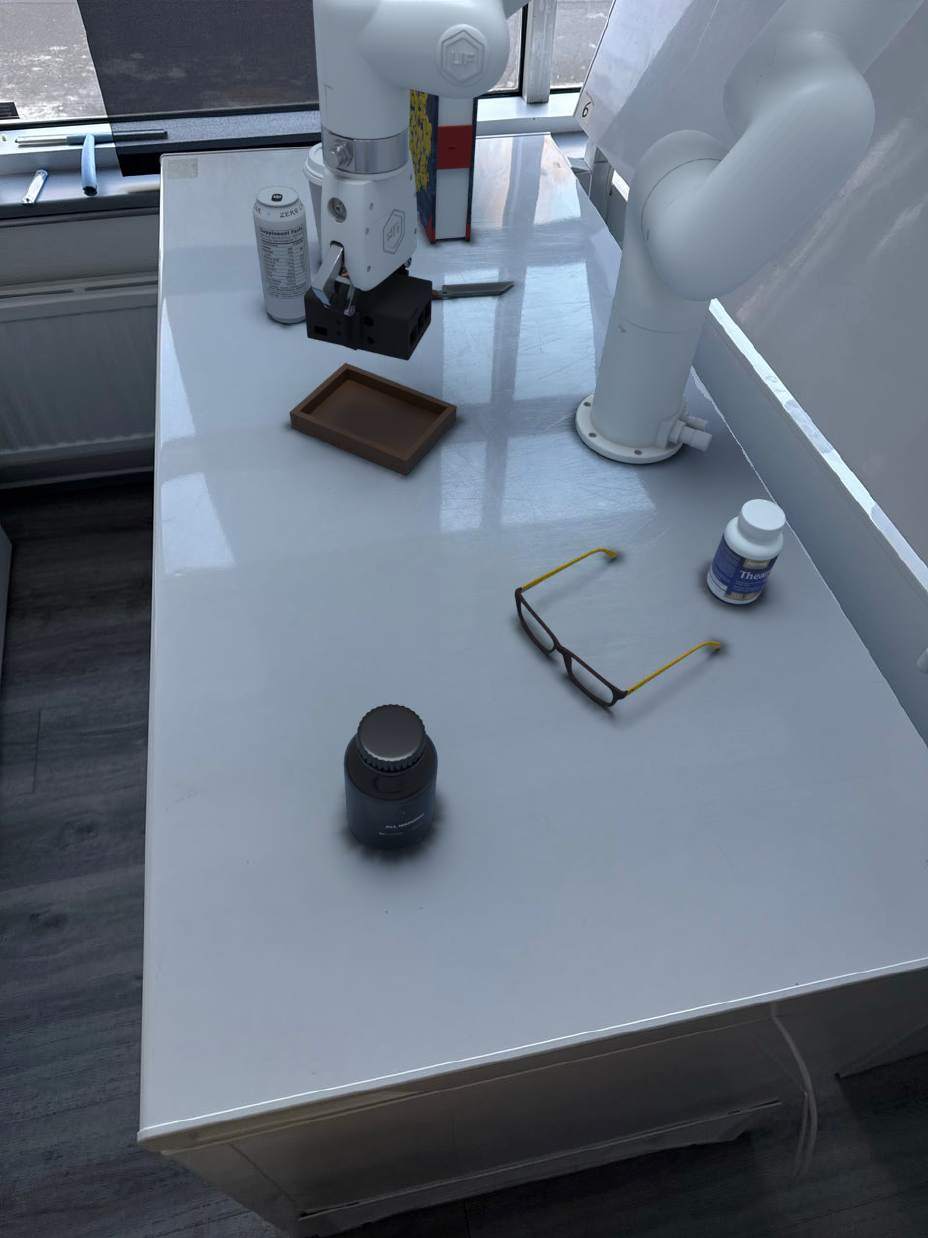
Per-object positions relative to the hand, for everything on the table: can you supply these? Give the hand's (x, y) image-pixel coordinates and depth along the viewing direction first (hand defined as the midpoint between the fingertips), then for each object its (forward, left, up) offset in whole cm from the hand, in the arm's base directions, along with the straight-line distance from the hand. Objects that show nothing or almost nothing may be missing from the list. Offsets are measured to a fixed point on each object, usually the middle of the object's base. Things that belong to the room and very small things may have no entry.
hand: (370, 322), depth 90 cm
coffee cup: (+21, -27, -13) cm, 37 cm away
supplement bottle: (-27, +39, -13) cm, 50 cm away
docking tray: (0, -1, -13) cm, 13 cm away
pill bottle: (-43, +1, -13) cm, 45 cm away
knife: (+5, -31, -13) cm, 34 cm away
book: (+21, -50, -13) cm, 56 cm away
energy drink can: (+21, -14, -13) cm, 28 cm away
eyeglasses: (-35, +13, -13) cm, 40 cm away
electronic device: (0, 0, -1) cm, 1 cm away
